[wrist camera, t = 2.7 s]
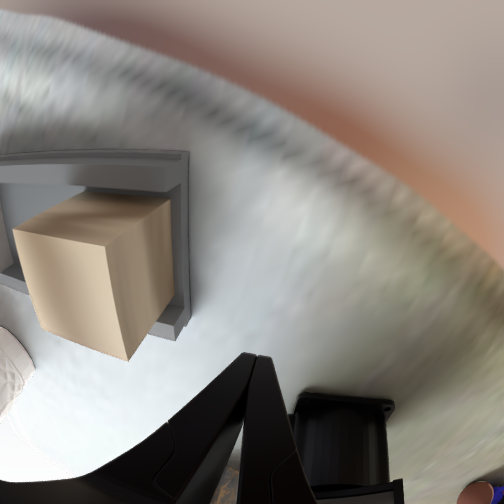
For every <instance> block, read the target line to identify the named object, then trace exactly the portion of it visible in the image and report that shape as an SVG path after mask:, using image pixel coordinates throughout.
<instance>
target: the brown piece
mask: <svg viewBox="0 0 504 504" xmlns="http://www.w3.org/2000/svg"><path fill="white" fill-rule="evenodd" d="M238 476H239V471H237V470H235V469H233V468H231V467H229V466H228V465H226V467H225V469H224V472H223V474H222V476H221V479H220V481H219V483H218V486H217V488H216V490H215V493H214V495H213V497H212V499H211V502H210V504H236V495H237V486H238Z"/></svg>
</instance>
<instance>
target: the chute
mask: <svg viewBox="0 0 504 504" xmlns="http://www.w3.org/2000/svg"><path fill="white" fill-rule="evenodd" d="M188 155H189V151H170V150H135V149H95V150H62V151H43V152H28V153H16V154H5V155H0V284H3V285H5V286H7V287H10V288H12V289H15V290H17V291H20V292H22V293H25V294H27V295H30V294H29V290H28V287H27V284H26V281H25V277H24V274H23V270H22V267H21V263H20V259H19V255H18V251H17V247H16V243H15V239H14V234H13V228H15V227H17V226H18V225H20V224H22V223H24V222H25V221H27V220H29V219H31V218H33V217H34V216H36V215H38V214H40V213H42V212H44V211H46V210H48V209H49V208H51V207H53V206H55V205H57V204H59V203H61V202H63V201H65V200H67V199H69V198H71V197H73V196H75V195H77V194H79V193H81V192H83V191H88V192H101V193H114V194H126V195H137V196H148V197H158V198H168V199H171V233H172V256H173V274H174V289H175V295H174V296H173V298H172V299H171V301H170V302H169V304H168V305H167V306H166V308H165V309H164V311H163V312H162V313H161V315H160V316H159V318H158V319H157V321H156V322H155V323H154V325H153V326H152V328H151V329H150V331H149V332H148V334H149V335H153V336H157V337H161V338H165V339H169V340H173V341H176V339H177V337H178V335H179V334H180V332H181V330H182V329H183V327H184V326H185V327H186V326H187V324H188V322H189V320H190V319H191V310H190V287H189V255H188Z"/></svg>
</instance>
